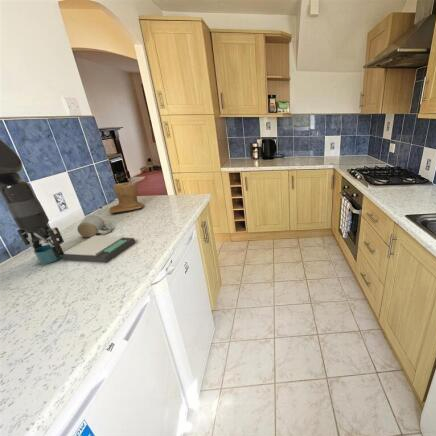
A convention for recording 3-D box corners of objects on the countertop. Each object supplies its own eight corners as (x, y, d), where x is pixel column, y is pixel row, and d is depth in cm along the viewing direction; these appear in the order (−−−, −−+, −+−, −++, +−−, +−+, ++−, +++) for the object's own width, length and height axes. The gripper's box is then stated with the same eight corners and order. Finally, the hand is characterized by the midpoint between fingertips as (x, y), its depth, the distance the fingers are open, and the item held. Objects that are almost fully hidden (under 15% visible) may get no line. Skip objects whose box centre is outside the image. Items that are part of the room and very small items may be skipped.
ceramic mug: (79, 239, 102) (72, 223, 99) (87, 231, 109) (81, 215, 106) (108, 235, 105) (103, 219, 102) (114, 228, 112) (109, 212, 109)
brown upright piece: (144, 204, 142) (136, 178, 136) (143, 210, 132) (135, 183, 126) (113, 209, 135) (104, 182, 129) (110, 216, 126) (100, 188, 120)
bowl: (35, 264, 86) (28, 252, 84) (53, 254, 91) (48, 243, 89) (50, 265, 85) (44, 253, 83) (68, 255, 90) (62, 243, 88)
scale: (62, 260, 87) (59, 252, 86) (96, 241, 100) (93, 234, 99) (107, 262, 85) (104, 255, 84) (135, 243, 98) (133, 236, 97)
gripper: (-4, 216, 78) (22, 259, 85) (33, 217, 76) (57, 261, 83) (23, 208, 85) (45, 248, 92) (57, 208, 83) (77, 249, 89)
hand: (50, 254), depth 87 cm, fingers open, 7 cm apart
